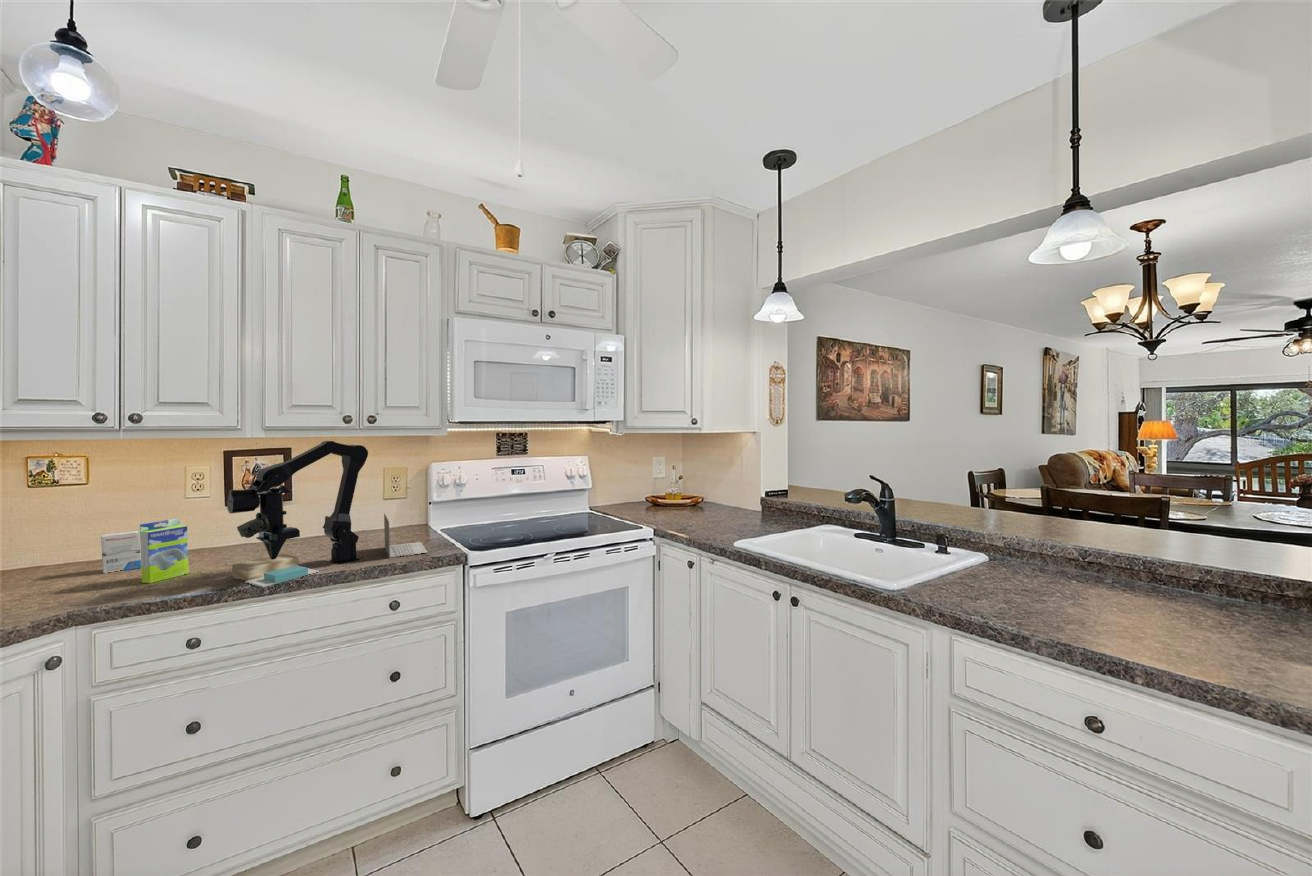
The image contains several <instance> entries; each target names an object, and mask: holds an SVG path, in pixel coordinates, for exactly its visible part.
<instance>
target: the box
mask: <svg viewBox="0 0 1312 876" xmlns="http://www.w3.org/2000/svg"><path fill="white" fill-rule="evenodd" d="M160 523H161V524H165V525H160V526H155V525H159V524H160ZM139 530H140V531H139V537H140V552H141V583H144V584H152V583H157V582H161V581H166V580H170V579H172V578H176V577H182V576H185V575H184V574H186V575H189V571H190V570H189V568H190V567H189V548H188V547H189V545H188V544H189V541H188V538H189V537H188V534H189V533H188V525H187V524H186V525H185V524H180V518H179V517H178V518H173V519H172V518H171V519H166V520H165V519H164V520H160V521H153V522H147V523H141V524H140V523H139Z"/></svg>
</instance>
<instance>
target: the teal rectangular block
mask: <svg viewBox="0 0 1312 876" xmlns="http://www.w3.org/2000/svg"><path fill="white" fill-rule="evenodd" d="M304 575H308V567H306V566H301V565H299V566H297V565H296V566H292V567H288V568H283V569H279V570H275V571H271V572H267V573H264V580H267V581H271V582H275V583H276V582H280V581H284V580H288V579H292V578H296V577H300V576H304ZM308 576H309V575H308ZM304 577H305V576H304Z"/></svg>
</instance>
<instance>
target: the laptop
mask: <svg viewBox="0 0 1312 876" xmlns="http://www.w3.org/2000/svg"><path fill="white" fill-rule="evenodd" d="M383 523H384V527H383V528H384V548H385V550H386V554H387V553H388V554H387V556H388V558H389V559H395V558H394V557H397V558H398V557H400V556H401V557H402V556H404V557H410V555H411V556H416V555H415V554H418V555H422V554H421V553H425V554H428V553H427V552H428V550H427V549H426V547H425V546H424V543H422V542H421V541H417V542H410V543H408V542H407V543H402V544H401V543H399V544H391V537H390V536H391V535H390V521H389V519H388V516H387V515H386V513H383ZM392 557H393V558H392Z"/></svg>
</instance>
